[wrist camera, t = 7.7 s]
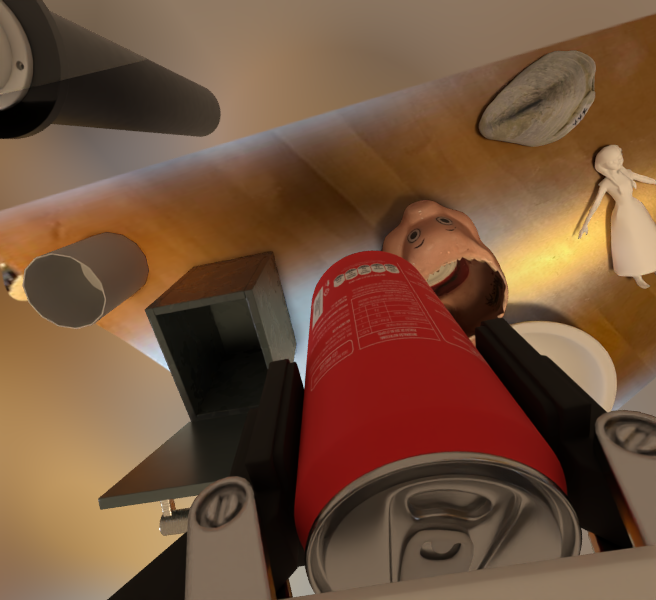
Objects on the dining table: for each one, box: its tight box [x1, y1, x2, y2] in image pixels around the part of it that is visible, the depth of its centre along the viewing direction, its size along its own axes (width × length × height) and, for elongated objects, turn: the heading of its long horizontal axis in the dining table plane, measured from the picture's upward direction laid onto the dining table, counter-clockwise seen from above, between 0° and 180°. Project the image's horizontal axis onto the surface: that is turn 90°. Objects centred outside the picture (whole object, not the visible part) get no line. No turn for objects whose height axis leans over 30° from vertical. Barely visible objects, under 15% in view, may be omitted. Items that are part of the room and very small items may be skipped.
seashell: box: [479, 51, 596, 146], centre depth 39 cm, size 12×8×5 cm
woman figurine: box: [578, 145, 656, 288], centre depth 44 cm, size 12×4×18 cm
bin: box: [145, 252, 296, 422], centre depth 44 cm, size 14×11×14 cm
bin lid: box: [98, 412, 248, 536], centre depth 33 cm, size 14×11×5 cm
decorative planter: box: [382, 200, 508, 347], centre depth 42 cm, size 20×12×14 cm, turn 28°
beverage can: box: [294, 251, 582, 594], centre depth 12 cm, size 5×5×12 cm
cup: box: [23, 232, 149, 329], centre depth 44 cm, size 8×8×10 cm
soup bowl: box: [510, 321, 617, 412], centre depth 51 cm, size 24×24×7 cm
